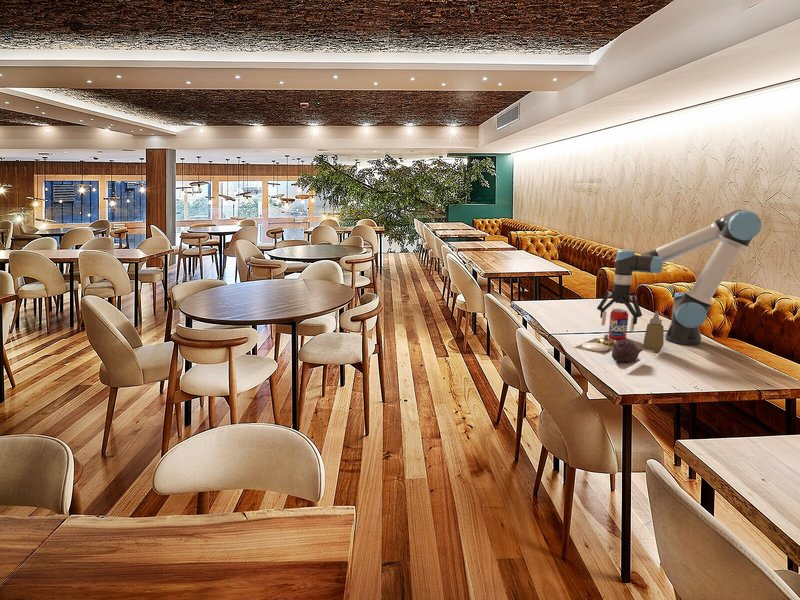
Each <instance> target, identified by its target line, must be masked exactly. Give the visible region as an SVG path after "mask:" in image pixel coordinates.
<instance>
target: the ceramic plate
mask: <svg viewBox="0 0 800 600" xmlns="http://www.w3.org/2000/svg"><path fill="white" fill-rule="evenodd" d="M581 344H582V347H583V348H584V349H586V350H590V351H589V352H591V351H597V352H603V351H608V350H609V347H608V346H607V345H604V344H600V343H585V342H584V344H583V343H581ZM586 350H585V351H586Z"/></svg>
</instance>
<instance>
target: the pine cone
mask: <svg viewBox="0 0 800 600" xmlns="http://www.w3.org/2000/svg"><path fill="white" fill-rule="evenodd" d="M616 342H617V344H615V345H614V346H613V348H614V349H613V350H612V351H611V357H612V359H613V360H614V361H617V362H619V363H620V362H621V363H627V364H632V363H635V362H636V361H637V360H638V358H639V354H640V353H641V352H642V351H643V348H640V347H637V345H636V344H635V343H634V342H633V341H630V340H629V339H626V340H616Z"/></svg>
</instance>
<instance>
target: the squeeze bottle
mask: <svg viewBox="0 0 800 600" xmlns="http://www.w3.org/2000/svg"><path fill="white" fill-rule="evenodd" d="M662 322H663V320H662V319H660V315H659V311H658V310H657V311H656V310H655V312H654V315H653V317H652V318H650V319H649V323H647V324H646V325H647V326H646V330H645V334H644V338H643V345H644V348H645V349H647V350H650V351H653V352H652V353H654V354H656V353H657V354H658V353H661V350H662V349H663V347H664V343H665V341H664V340H665V338H664V336H665V335H664V334H665V333H664V327H665V326H664V325H663V324H662Z"/></svg>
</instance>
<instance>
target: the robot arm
mask: <svg viewBox="0 0 800 600" xmlns="http://www.w3.org/2000/svg"><path fill="white" fill-rule="evenodd" d="M761 230H762V221H761V218H760V217H759V215H758V214H757V213H755V212H753V211H750V210H745V209H736V210H733V211H731V212H729V213H727V214H726V215H724V216H721V217H720V218H718V219H716V220H714V221H712V223H711V224H710V225H708V226H707V225H706V226H705V227H703V228H701V229H698V230H696V231H693V232H690V233H689V234H687V235H685V236H682V237H680V238H677V239H676V240H675V239H674V240H673V241H670V242H668V243H666V244H664V245H662V246H659V247H656V248H655V249H653V250H650V251H646V252H643V253H641V254H640V255H639V254H638V255H637V254H635V252H636V251H635V250H631V249H619V250H618V251H617V253H616V257H615V268H614V274H613V275H614V276H613V282H614V283H613V285H612V292H611V291H610V290H609V291H606V292H605V294H604V297H603V298H602V300H601V301H600V303H599V304H598V306H597V307H596V310H597V311H598V310H599V311H600V315H599V317H600V319H601V323H600V324H601V326H602V327H603V326H605V325H606V320H607V311H606V310H607V309H608V308H610V307H611V306H613V304H614V303H615V304H622V305H623V304H624V305H625V306H626V308H627V310H628V311H629V313H630V314H631V316H632V317H631V321H630V328H629V331H630V332H633V331H635V325H637V323H638V318H640V317H643V313H642V311H641V308H640V305H639V302H638V297H637V295H635V294H634V295H631V289H632V288H631V286H632V285H631V284H632V281H633V280H632V279H633V278H632V277H633V272H635V273H636V272H638V273H647V274H648V273H649V274H661V273H662V271H663V264H664V263H667V262H669V261H671V260H674V259H676V258H679V257H680V256H683V255H685V254H688V253H691V252H693V251H696V250H697V249H700V248H702V247H705V246H707V245H710V244H712V243H714V242H717V241H719V243H718V244H717V246H716V247H715V249H714V251H713V253H712V254H711V256H710V258H709V259H708V261H707V262H706V264H705V266H704V268H703V269H702V271H701V272H700V274H699V276H698V278H697V279H696V281H695V283H694V285H693V286H692V288H691V289H690V290H688V291H685V292H675V293H674V295H673V305H672V313H671V322H670V325H669V326H668V328H667V331H666V333H665V335H664V336H665V338H664V340H666V341H667V342H671V343H673V344H677V345H678V344H679V345H686V346H695V345H696V344H697V345H700V344H701V343H702V334H701V331H700V326H701V325H704V323H705V321H706V319H707V317H708V312H709V310H710V309H711V307H712V305H713V301H712V298H713V296H714V295H715V293H716V292H717V290H718V288H719V287H720V285H721V283H722V281H724V278H725V277H726V275H727V273H728V272H729V270H730V268H731V267H732V265H733V263H734V262H735V261H736V258H737V257H738V255H739V254H740V252H741V250H743V249H746V248H748V247H749V245H750V244H751V241H752V240H753V239H754V238H755V237H756V236H758V235H759V234H760V232H761ZM610 297H612V299H611V300H610V301H609V302H607V301H608V299H609V298H610ZM630 300H631V301H632V304H633V306H632V304H631V302H630Z"/></svg>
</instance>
